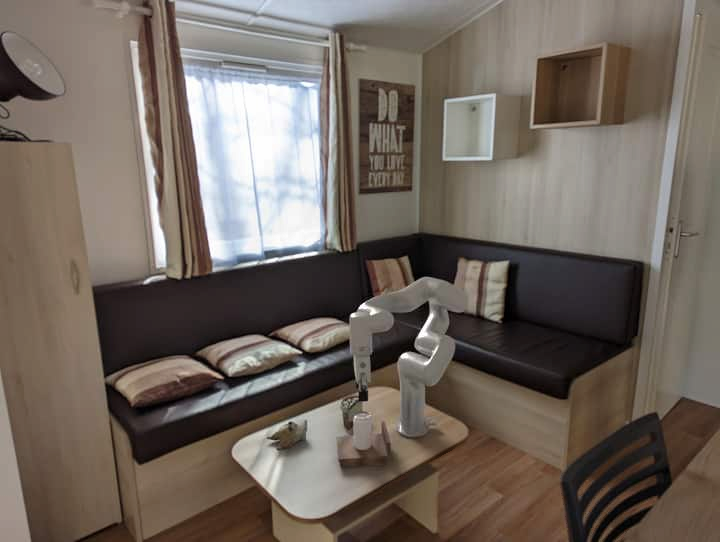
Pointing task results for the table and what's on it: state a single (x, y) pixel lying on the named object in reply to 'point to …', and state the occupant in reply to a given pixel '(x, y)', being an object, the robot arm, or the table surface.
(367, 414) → the can
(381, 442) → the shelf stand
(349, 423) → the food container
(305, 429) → the ceramic sculpture
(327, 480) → the table surface
